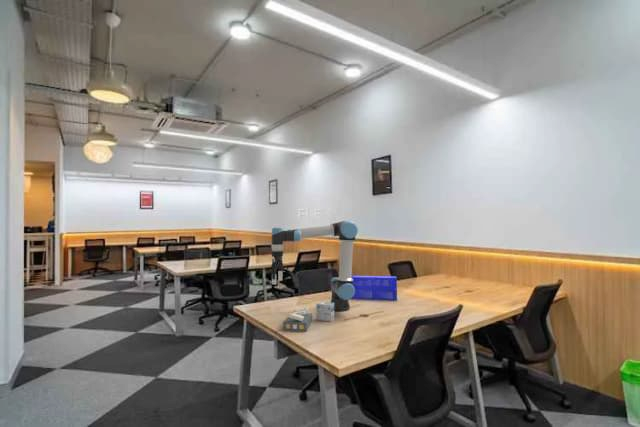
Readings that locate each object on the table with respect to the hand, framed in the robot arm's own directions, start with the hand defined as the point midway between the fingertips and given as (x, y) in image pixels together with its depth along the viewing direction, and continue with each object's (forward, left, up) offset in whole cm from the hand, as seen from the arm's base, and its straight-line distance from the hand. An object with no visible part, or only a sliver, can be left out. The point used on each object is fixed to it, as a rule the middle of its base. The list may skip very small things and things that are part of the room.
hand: (277, 282), depth 219 cm
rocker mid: (-17, +14, -16) cm, 27 cm away
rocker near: (-17, +20, -16) cm, 31 cm away
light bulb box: (-32, -2, -24) cm, 40 cm away
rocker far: (-17, +7, -16) cm, 25 cm away
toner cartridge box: (-64, -64, -24) cm, 94 cm away
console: (-17, +13, -24) cm, 32 cm away
